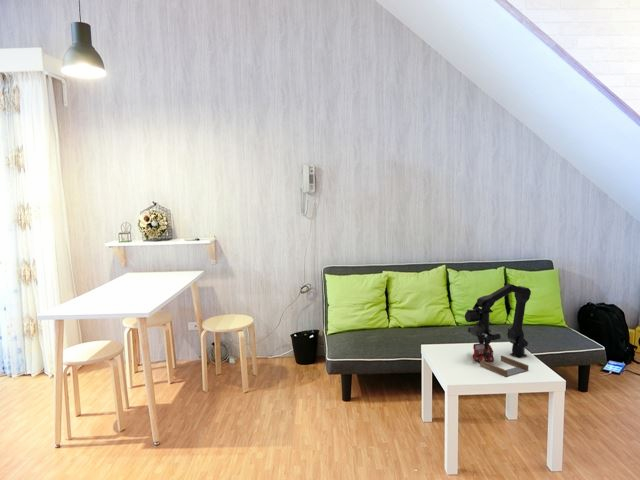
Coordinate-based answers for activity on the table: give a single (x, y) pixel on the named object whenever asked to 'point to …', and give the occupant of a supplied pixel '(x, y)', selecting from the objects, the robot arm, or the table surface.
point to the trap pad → (514, 371)
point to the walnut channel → (500, 370)
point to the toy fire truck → (483, 353)
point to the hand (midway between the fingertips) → (483, 348)
